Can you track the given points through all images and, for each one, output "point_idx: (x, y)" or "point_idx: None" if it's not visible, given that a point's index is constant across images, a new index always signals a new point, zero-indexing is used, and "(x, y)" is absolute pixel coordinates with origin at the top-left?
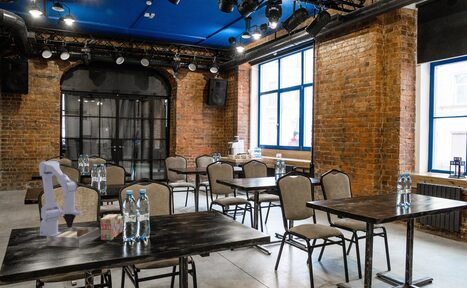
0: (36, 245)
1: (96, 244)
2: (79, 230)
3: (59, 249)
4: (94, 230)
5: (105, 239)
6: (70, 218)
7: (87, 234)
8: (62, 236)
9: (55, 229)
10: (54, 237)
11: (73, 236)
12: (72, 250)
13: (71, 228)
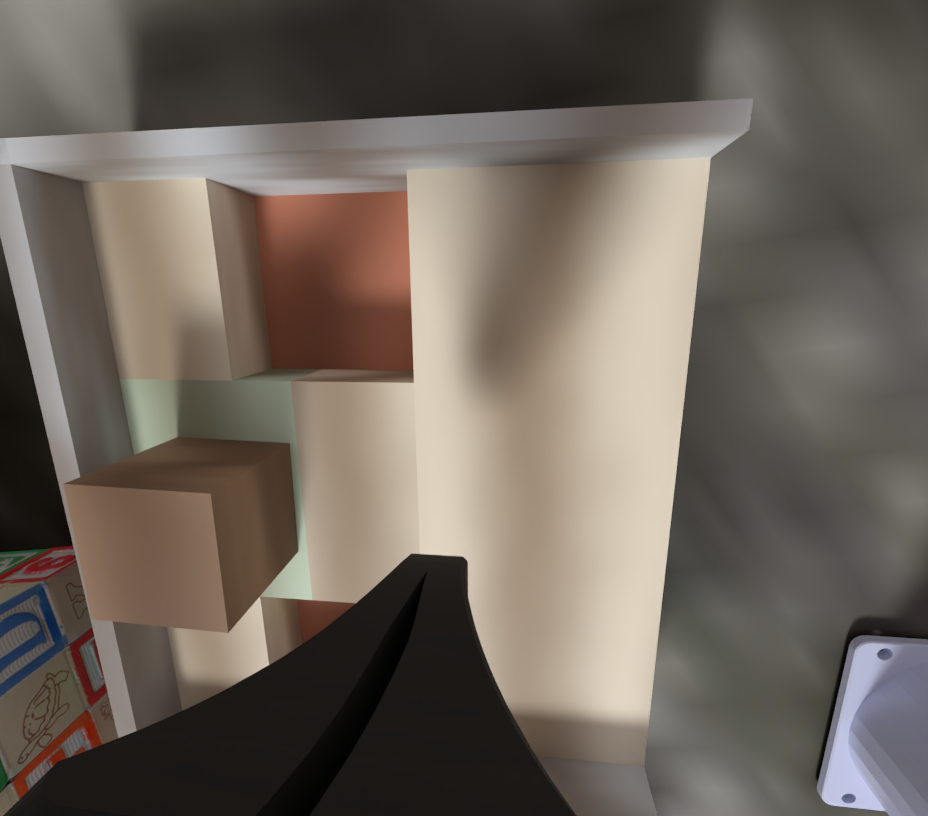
0: (875, 134)
1: (16, 352)
2: (163, 481)
3: (330, 3)
4: (99, 650)
5: (49, 550)
6: (147, 731)
7: (66, 446)
8: (542, 421)
9: (923, 783)
10: (532, 114)
11: (352, 446)
12: (108, 4)
13: (616, 797)
